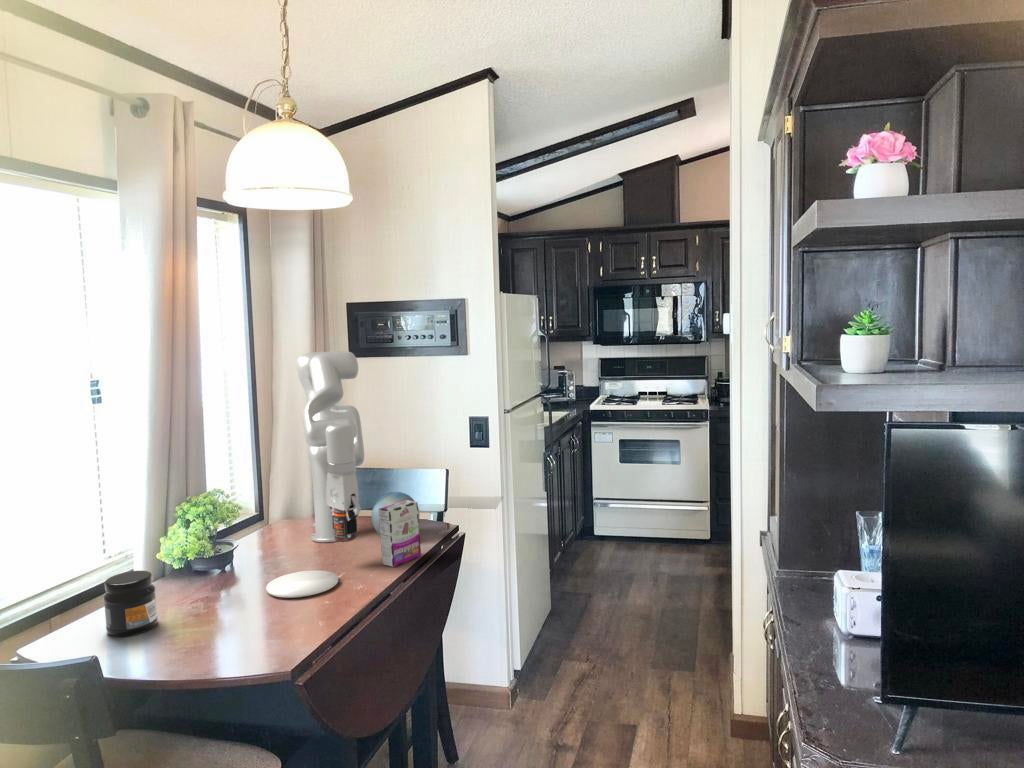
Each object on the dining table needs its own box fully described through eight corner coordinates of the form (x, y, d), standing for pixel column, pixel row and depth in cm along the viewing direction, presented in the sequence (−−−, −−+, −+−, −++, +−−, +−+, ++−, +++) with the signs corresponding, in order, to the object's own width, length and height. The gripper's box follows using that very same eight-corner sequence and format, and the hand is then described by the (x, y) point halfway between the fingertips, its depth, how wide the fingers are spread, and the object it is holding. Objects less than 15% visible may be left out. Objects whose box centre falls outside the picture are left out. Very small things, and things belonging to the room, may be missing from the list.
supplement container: (164, 627, 163) (160, 576, 162) (113, 642, 156) (109, 589, 155) (150, 615, 171) (146, 566, 170) (100, 629, 164) (96, 578, 163)
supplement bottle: (329, 541, 199) (327, 501, 198) (344, 534, 205) (342, 496, 203) (346, 543, 197) (344, 503, 195) (360, 537, 202) (358, 498, 200)
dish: (254, 588, 186) (253, 584, 186) (315, 570, 199) (315, 565, 199) (288, 605, 173) (287, 600, 173) (351, 584, 186) (351, 580, 186)
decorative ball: (426, 532, 232) (423, 486, 231) (413, 546, 217) (410, 498, 216) (381, 532, 234) (379, 487, 233) (365, 546, 219) (363, 498, 218)
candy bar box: (409, 554, 210) (406, 499, 209) (421, 556, 207) (418, 501, 206) (380, 565, 201) (377, 507, 200) (393, 568, 198) (390, 510, 197)
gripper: (313, 465, 202) (317, 527, 204) (347, 475, 190) (350, 540, 192) (336, 461, 207) (339, 521, 209) (370, 469, 195) (373, 533, 197)
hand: (344, 530), depth 200 cm, fingers closed on supplement bottle, 6 cm apart
